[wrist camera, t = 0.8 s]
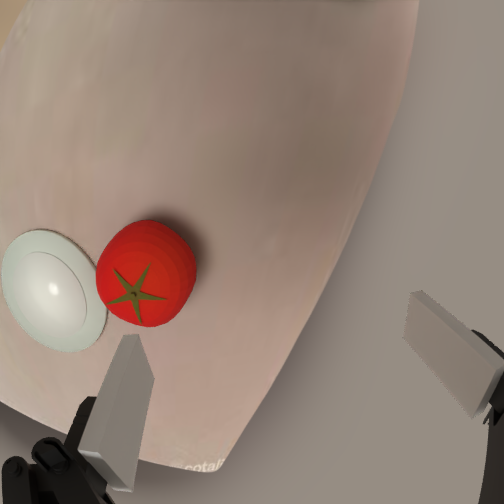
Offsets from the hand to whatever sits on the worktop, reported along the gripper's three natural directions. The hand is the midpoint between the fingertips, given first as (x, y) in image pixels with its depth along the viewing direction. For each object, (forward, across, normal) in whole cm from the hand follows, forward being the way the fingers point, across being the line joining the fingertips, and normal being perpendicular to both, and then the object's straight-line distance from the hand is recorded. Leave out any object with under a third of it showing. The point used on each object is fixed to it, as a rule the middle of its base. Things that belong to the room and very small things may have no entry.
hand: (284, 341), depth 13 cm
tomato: (+26, -12, -4) cm, 29 cm away
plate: (+25, -30, -7) cm, 40 cm away
